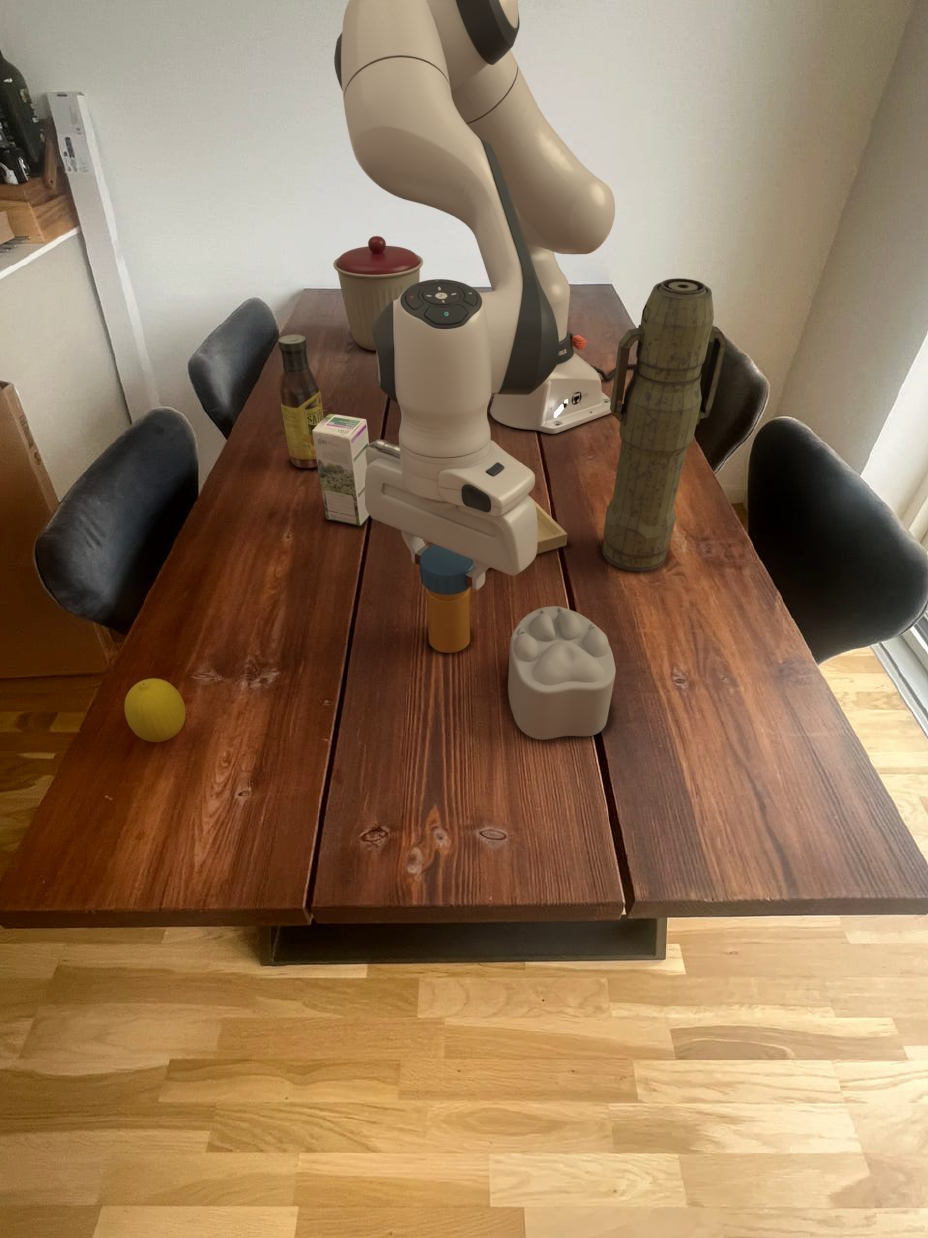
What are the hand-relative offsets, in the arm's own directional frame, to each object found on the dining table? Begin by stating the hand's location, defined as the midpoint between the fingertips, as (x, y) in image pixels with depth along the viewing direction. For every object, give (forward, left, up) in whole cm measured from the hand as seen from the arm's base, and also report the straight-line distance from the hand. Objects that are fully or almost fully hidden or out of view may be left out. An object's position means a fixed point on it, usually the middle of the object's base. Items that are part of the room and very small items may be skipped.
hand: (448, 573), depth 81 cm
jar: (0, 0, -10) cm, 10 cm away
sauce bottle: (+3, -49, -10) cm, 50 cm away
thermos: (-30, -5, -10) cm, 32 cm away
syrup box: (+2, -31, -10) cm, 33 cm away
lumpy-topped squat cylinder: (-7, +13, -10) cm, 18 cm away
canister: (-26, -92, -10) cm, 96 cm away
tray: (-15, -17, -10) cm, 25 cm away
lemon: (+33, +1, -10) cm, 35 cm away
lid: (0, 0, +2) cm, 2 cm away
